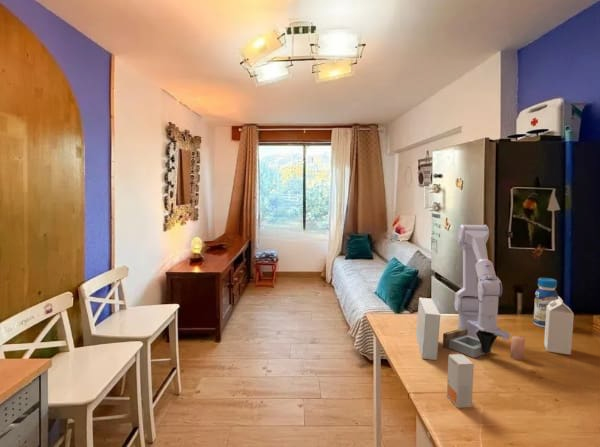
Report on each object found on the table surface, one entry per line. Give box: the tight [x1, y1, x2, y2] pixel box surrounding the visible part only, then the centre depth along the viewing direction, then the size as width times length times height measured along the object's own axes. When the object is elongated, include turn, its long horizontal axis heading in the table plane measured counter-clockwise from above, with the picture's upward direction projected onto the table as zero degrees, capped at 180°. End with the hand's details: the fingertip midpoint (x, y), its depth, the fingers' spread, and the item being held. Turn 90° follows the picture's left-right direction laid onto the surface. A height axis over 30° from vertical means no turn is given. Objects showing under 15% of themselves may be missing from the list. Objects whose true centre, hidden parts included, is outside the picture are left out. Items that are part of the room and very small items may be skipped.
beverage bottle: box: [533, 277, 559, 328], centre depth 163 cm, size 8×8×20 cm
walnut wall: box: [442, 328, 468, 349], centre depth 141 cm, size 12×2×5 cm, turn 121°
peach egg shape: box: [509, 335, 526, 361], centre depth 130 cm, size 4×4×7 cm
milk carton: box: [543, 295, 575, 356], centre depth 137 cm, size 7×7×19 cm
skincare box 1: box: [415, 297, 441, 361], centre depth 137 cm, size 21×5×16 cm, turn 168°
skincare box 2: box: [446, 353, 475, 409], centre depth 102 cm, size 6×4×12 cm
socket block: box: [448, 334, 492, 359], centre depth 136 cm, size 10×10×3 cm
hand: (486, 352), depth 131 cm, fingers closed
